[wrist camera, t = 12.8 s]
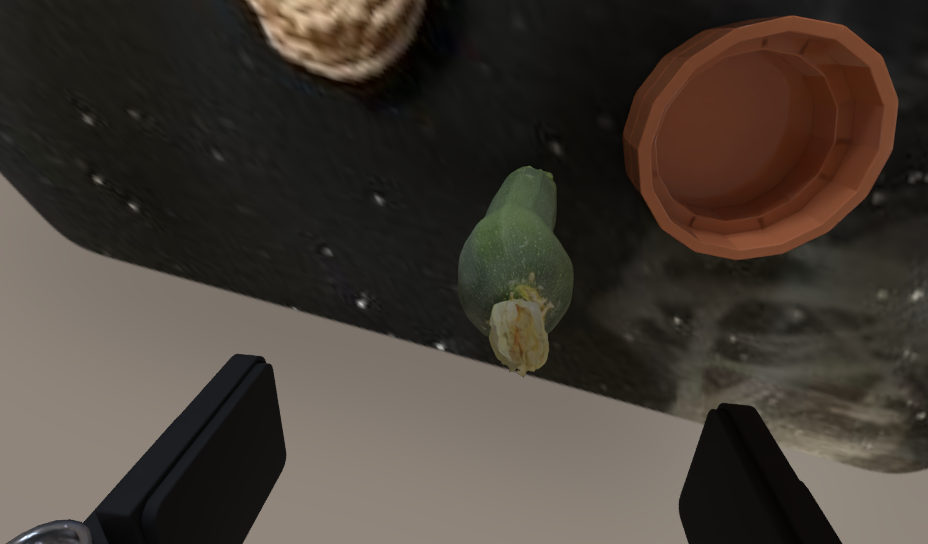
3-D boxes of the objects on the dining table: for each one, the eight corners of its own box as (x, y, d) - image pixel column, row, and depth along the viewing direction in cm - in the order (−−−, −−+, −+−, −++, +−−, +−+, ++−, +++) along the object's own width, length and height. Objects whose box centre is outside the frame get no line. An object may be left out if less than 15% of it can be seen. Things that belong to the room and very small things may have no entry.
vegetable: (532, 230, 32) (536, 478, 14) (472, 199, 31) (396, 412, 13) (569, 169, 30) (628, 365, 12) (506, 136, 30) (469, 286, 12)
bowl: (582, 159, 30) (591, 180, 25) (723, -26, 25) (765, -41, 20) (725, 259, 31) (759, 296, 27) (883, 102, 26) (956, 115, 22)
